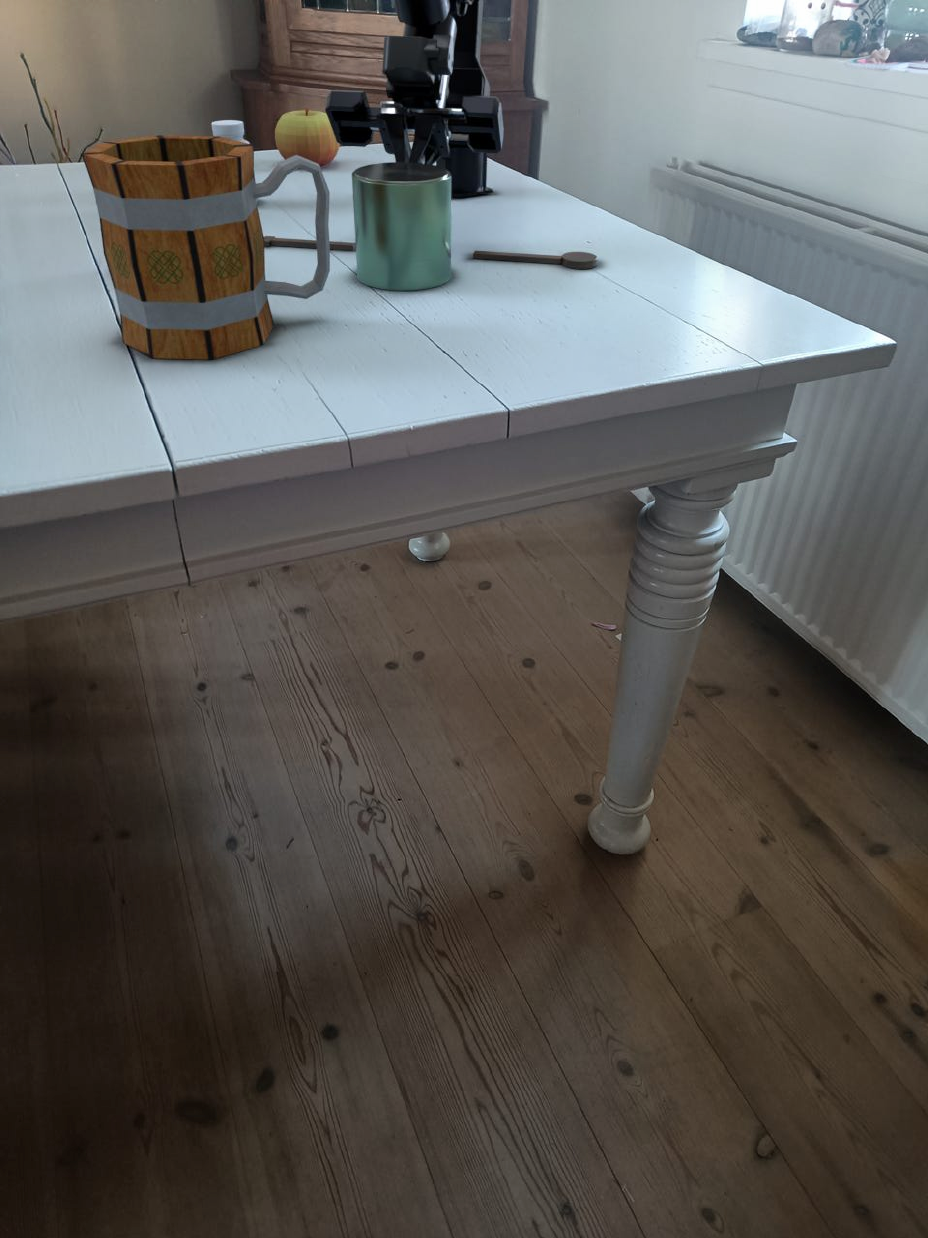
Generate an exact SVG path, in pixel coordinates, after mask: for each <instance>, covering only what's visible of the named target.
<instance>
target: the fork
mask: <svg viewBox="0 0 928 1238" xmlns="http://www.w3.org/2000/svg"><path fill="white" fill-rule="evenodd" d="M329 243H330V250H333V251H334V250H335V251H349V252H350V251H351V252H354V251H356V243H355V242H347V241H335V240H333V241H332V240H329ZM271 246H272V247H288V248H290V247H291V248H302V249H303V248H304V249H305V248H306V249H317V241H316V239H301V238H287V237H286V238H285V237H276V236H275V235H265V236H264V248H268V247H271Z"/></svg>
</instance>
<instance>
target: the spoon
mask: <svg viewBox="0 0 928 1238" xmlns="http://www.w3.org/2000/svg"><path fill="white" fill-rule="evenodd" d="M472 259H476V260H490V261H503V262H504V261H507V262H519V263H520V262H522V263H536V264H537V263H538V264H552V265H561V266H563V267H566V268H569V269H574V270H587V269H593V268H596V267H597V266H598V259H599V258H598V256H597V255H596V254H594V253H592V252H591V253H590V252H586V251H570V252H569V251H568V252H565V253H563V254H562V255H555V254H553V255H552V254H536V253H524V252H523V253H520V252H505V251H489V250H477V249H476V250H474V251H473V253H472Z"/></svg>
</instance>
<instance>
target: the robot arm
mask: <svg viewBox="0 0 928 1238" xmlns="http://www.w3.org/2000/svg"><path fill="white" fill-rule="evenodd" d="M393 4H394V7H395V12H396V16H397V20H398V21H399V22H400V23H401V24H404V27H403V34H402V35H386V36H385V37H384V39H383V51H382V53H383V54H382V66H381V67H382V70H381V73H382V75H383V76H385V78H386V79H387V80H386V85H385V93H386V97H387V99H392V100H381V101H380V102H379V106H380V107H376V106H375V107H373V106H370V103H369V99H368V96H367V93H366V90H351V89H350V90H349V89H333V90H331V91H330V92H329V94H328V95H327V97H326V102H325V103H326V104H325V110H324V111H325V113H326V114H327V116H328V119H329V122H330V125H331V127H332V130H333V133H334V135H335V138H336V141H337V143H339V144H340V146H342V147H356V148H357V147H360V148H365V147H367V146H368V145H370V144H371V143H372V142H373V141H374V135H375V131H378V133H379V135H380V139H381V143H382V146H383V148H384V152H385V153H386V154H388V155H393V156H394V160H395V161H394V162H411V163H423V164H430V165H435V166H439V167H442V168H445V169H446V170H447V171H449V172H450V173H451V198H452V197H453V198H458V199H460V198H465V197H472V196H480V195H488V194H493V193H494V189H493V188H491V187H488V186H487V185H488V184H487V182H488V181H487V180H488V179H487V178H488V154H499V153H500V152H501V151H502V149H503V141H504V132H505V131H504V129H505V128H504V120H503V119H504V118H503V109H502V108H503V107H502V102H501V101H500V100H499V98H498V97H497V96H496V95H495V96H492V95H491V84H490V83H489V80H488V77H487V76H486V73H485V71H484V68H483V67H482V64H481V51H482V50H481V49H482V48H481V46H482V31H483V14H484V13H483V12H484V0H393ZM410 133H413V134H414V135H413V142H412V146H411V143H410V139H409V135H410Z"/></svg>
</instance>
